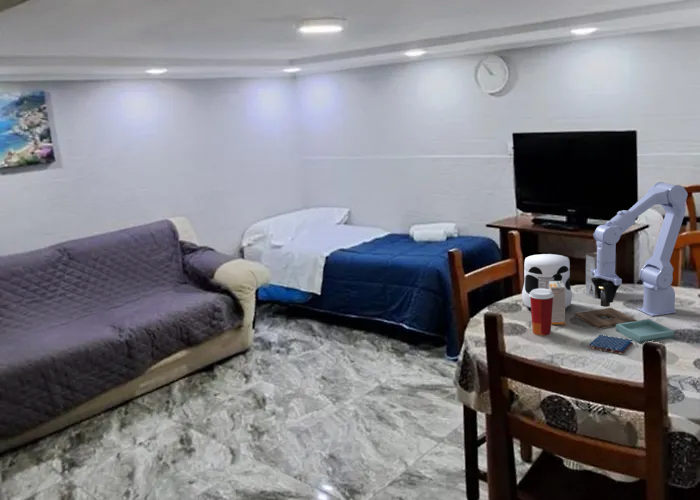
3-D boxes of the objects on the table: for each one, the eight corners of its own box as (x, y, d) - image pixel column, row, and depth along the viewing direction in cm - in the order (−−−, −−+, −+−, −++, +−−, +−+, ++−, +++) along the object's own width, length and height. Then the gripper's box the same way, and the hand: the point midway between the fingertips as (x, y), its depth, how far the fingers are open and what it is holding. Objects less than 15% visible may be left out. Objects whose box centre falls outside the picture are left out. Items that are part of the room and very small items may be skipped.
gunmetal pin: (607, 302, 222) (607, 283, 220) (615, 306, 217) (615, 287, 216) (595, 304, 221) (595, 285, 219) (603, 308, 217) (603, 289, 215)
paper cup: (554, 328, 215) (554, 288, 211) (553, 337, 208) (553, 295, 204) (529, 327, 217) (529, 287, 214) (528, 336, 210) (527, 294, 207)
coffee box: (606, 290, 250) (607, 250, 246) (616, 295, 244) (617, 253, 240) (584, 293, 248) (585, 252, 244) (594, 298, 242) (595, 256, 238)
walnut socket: (611, 310, 228) (611, 307, 228) (636, 322, 215) (636, 319, 215) (574, 315, 225) (574, 312, 225) (598, 328, 212) (598, 325, 212)
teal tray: (648, 325, 212) (648, 318, 211) (674, 337, 200) (674, 331, 200) (615, 330, 210) (615, 324, 209) (639, 343, 198) (639, 336, 198)
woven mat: (598, 339, 205) (598, 333, 205) (633, 345, 198) (633, 339, 198) (586, 350, 197) (586, 343, 197) (622, 356, 191) (622, 350, 190)
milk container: (551, 297, 247) (551, 251, 243) (582, 309, 231) (583, 260, 227) (512, 304, 241) (511, 257, 237) (541, 318, 225) (541, 268, 221)
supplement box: (565, 324, 218) (565, 287, 215) (550, 324, 219) (550, 287, 216) (562, 316, 225) (562, 280, 222) (548, 316, 226) (548, 280, 223)
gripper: (582, 257, 222) (582, 295, 225) (608, 267, 208) (607, 308, 211) (601, 255, 223) (600, 293, 226) (627, 265, 209) (626, 305, 212)
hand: (605, 300), depth 219 cm, fingers closed on gunmetal pin, 4 cm apart
